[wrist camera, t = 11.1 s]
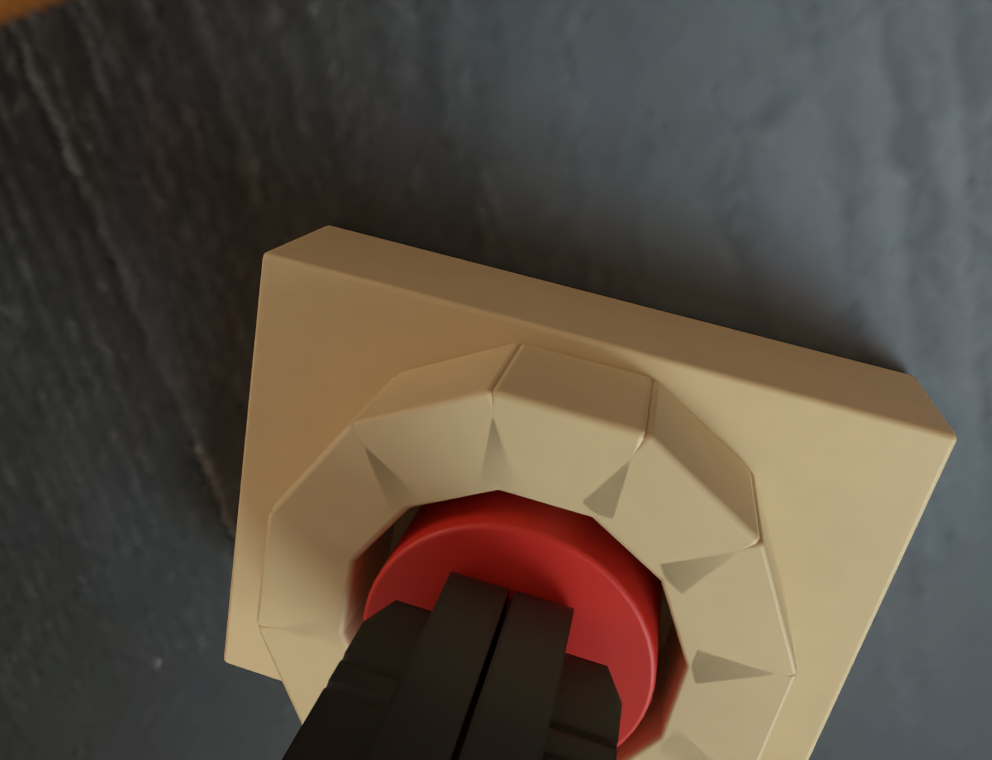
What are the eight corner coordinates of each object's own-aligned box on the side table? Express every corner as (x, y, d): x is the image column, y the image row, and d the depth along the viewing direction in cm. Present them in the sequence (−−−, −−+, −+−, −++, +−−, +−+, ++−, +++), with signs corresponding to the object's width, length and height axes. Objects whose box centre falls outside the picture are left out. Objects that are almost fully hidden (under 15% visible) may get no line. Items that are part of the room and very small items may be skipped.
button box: (916, 375, 12) (1014, 510, 8) (759, 739, 15) (781, 962, 11) (327, 223, 13) (186, 283, 9) (281, 587, 16) (157, 744, 12)
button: (695, 503, 11) (695, 579, 9) (623, 715, 12) (612, 813, 11) (428, 427, 11) (384, 487, 10) (388, 639, 13) (343, 723, 11)
